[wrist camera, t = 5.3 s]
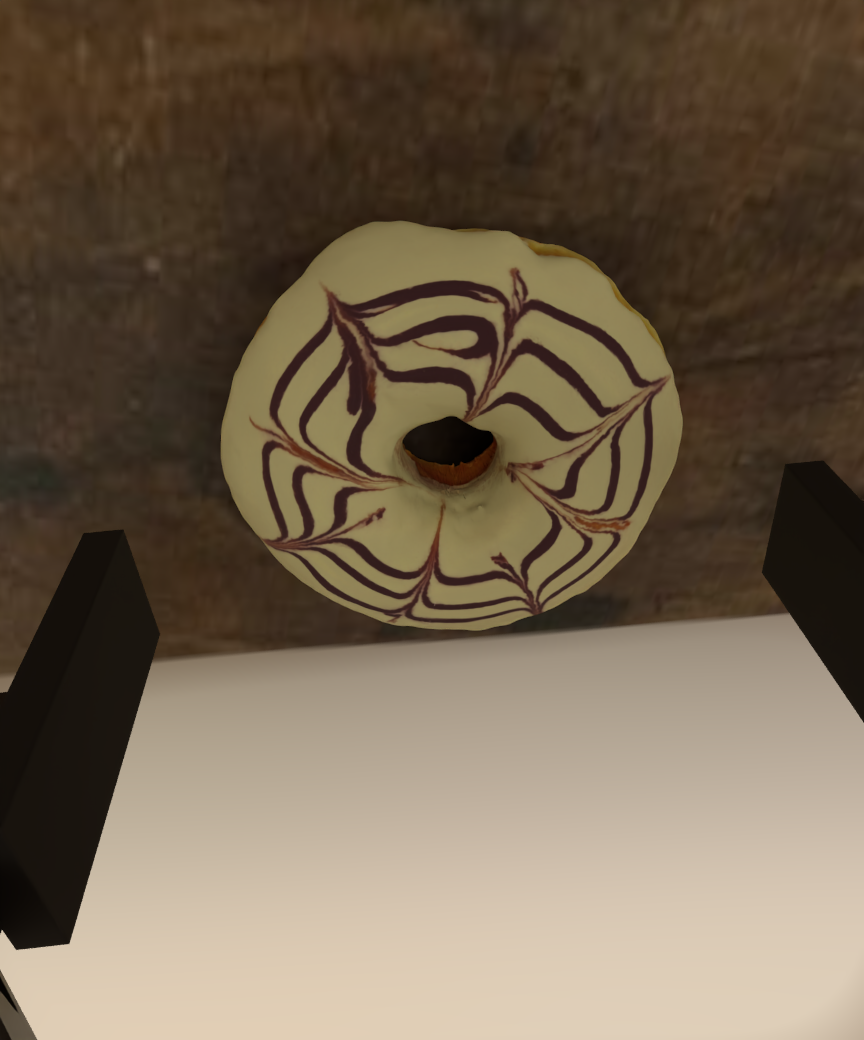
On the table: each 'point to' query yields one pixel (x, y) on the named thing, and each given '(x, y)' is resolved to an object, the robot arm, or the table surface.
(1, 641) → the table surface
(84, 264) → the table surface
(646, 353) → the decorated donut
